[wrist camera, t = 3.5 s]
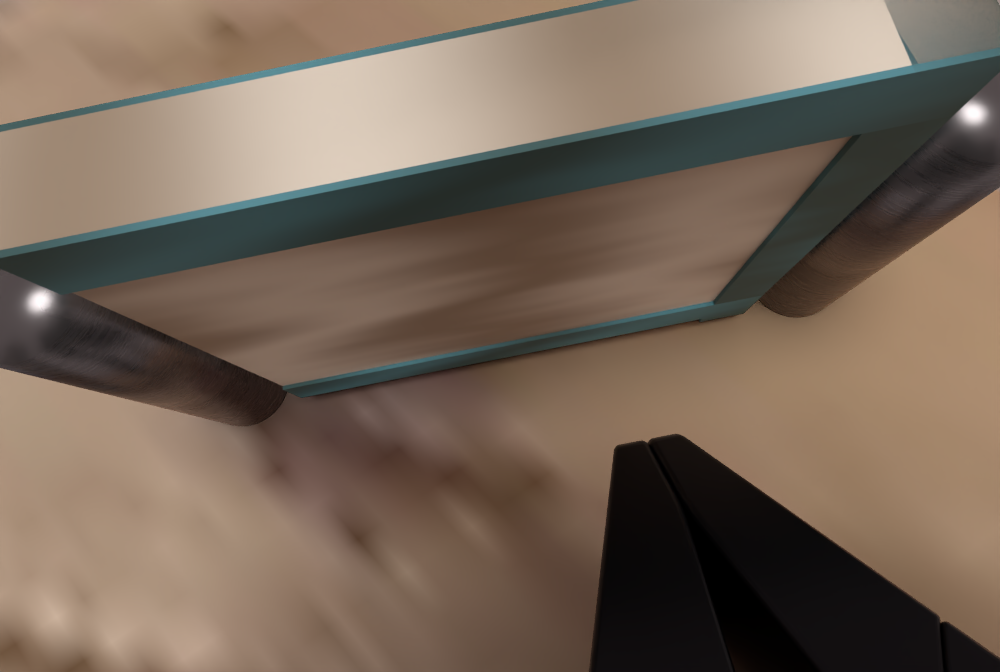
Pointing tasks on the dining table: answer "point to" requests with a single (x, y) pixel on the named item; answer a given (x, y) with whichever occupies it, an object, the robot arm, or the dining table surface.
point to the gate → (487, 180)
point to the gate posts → (251, 398)
